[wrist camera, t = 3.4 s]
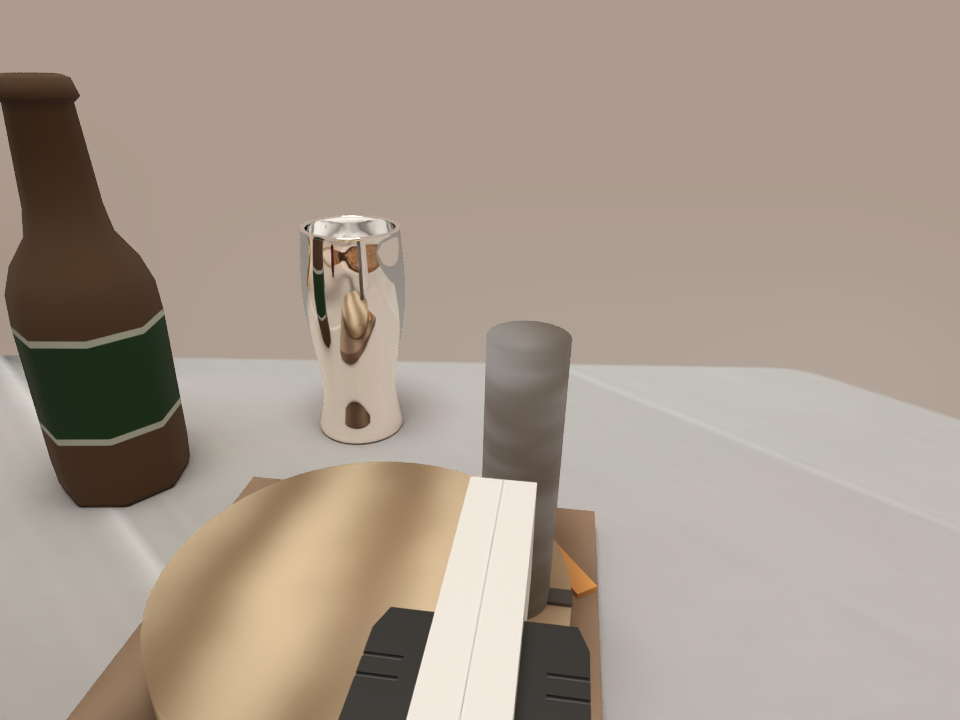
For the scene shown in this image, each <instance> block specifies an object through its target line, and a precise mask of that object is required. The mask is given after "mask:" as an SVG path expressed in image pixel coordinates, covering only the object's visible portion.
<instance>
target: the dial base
mask: <svg viewBox="0 0 960 720" xmlns="http://www.w3.org/2000/svg"><path fill="white" fill-rule="evenodd" d="M279 481H282V480H281V479H271V478H261V477H253V479H252V480H251V481H250V482H249V484H248V485H247V486H246V488H245V489H244V490H243V492H242V493H241V494H240V495H239V497H238V498H237V499H236V501H235V502H234V503H236V502H237V501H239V500H241V499H242V498H244V497H246V496H248V495H250V494H252V493H254V492H256V491H258V490H260V489H262V488H264V487H267V486H269V485H272V484H274V483H277V482H279ZM234 503H233V504H234ZM554 539H555V541H556V543H557V544H558V546H559V548H560V550H561V553H562V555H563V557H564V559H565V562H566V565H567V569H568V573H569V577H570V581H571V590H573V593H572V608H571V617H570V626H571V627H578V628H579V630H580V632H581V634H582V636H583V638H584V640H585V642H586V644H587V647H588V649H589V651H590V683H591V720H602V696H601V670H600V644H599V618H598V593H597V567H596V541H595V515H594V512H593V511H583V510H573V509H564V508H557V510H556V521H555V532H554ZM142 622H143V621H142ZM142 622H141V624H140V625H139V626H138V628H137V629H136V630H135V632H134V633H133V634H132V635H131V637H130V638H129V639H128V641H127V642H126V643H125V644H124V646H123V647H122V648H121V650H120V651H119V652H118V654H117V655H116V656H115V657H114V659H113V660H112V661H111V663H110V664H109V665H108V667H107V668H106V669H105V670H104V672H103V673H102V674H101V676H100V677H99V678H98V679H97V681H96V682H95V683H94V685H93V686H92V687H91V689H90V690H89V691H88V692H87V694H86V695H85V696H84V698H83V699H82V700H81V701H80V703H79V704H78V705H77V707H76V708H75V709H74V711H73V712H72V713H71V714H70V716H69V717H68V718H67V720H157V719H156V715H155V711H154V708H153V704H152V700H151V697H150V693H149V689H148V685H147V682H146V678H145V673H144V669H143V665H142V661H141V644H140V634H141V628H142Z"/></svg>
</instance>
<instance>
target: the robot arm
mask: <svg viewBox="0 0 960 720" xmlns="http://www.w3.org/2000/svg"><path fill="white" fill-rule="evenodd" d="M536 491H537V483H535V482H524V481H514V480H503V479H492V478H482V477H470V481H469V485H468V489H467V492H466V496H465V500H464V504H463V507H462V511H461V515H460V519H459V522H458V526H457V530H456V534H455V538H454V541H453V545H452V549H451V553H450V556H449V560H448V564H447V568H446V572H445V575H444V579H443V583H442V587H441V590H440V594H439V598H438V602H437V606H436V609H435V612H431V611H423V610H414V609H406V608H398V607H390V608H389V609H388V610H387V611H386V613H385V614H384V615H383V616H382V617H381V618H380V619H379V620H378V621H377V622H376V623H375V624H374V625H373V627H372V629H371V632H370V635H369V637H368V640H367V643H366V646H365V648H364V652H363V656H361V659H360V662H359V665H358V667H357V670H356V675H355V676H354V678H353V681H352V684H351V686H350V689H349V692H348V694H347V697H346V700H345V702H344V705H343V708H342V711H341V713H340V716H339V719H338V720H591V683H590V651H589V649H588V647H587V644H586V642H585V640H584V638H583V636H582V634H581V632H580V630H579V628H578V627H571V626H563V625H554V624H546V623H537V622H529V621H527V615H528V604H529V594H530V583H531V570H532V554H533V539H534V523H535V507H536Z"/></svg>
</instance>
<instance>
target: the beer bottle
mask: <svg viewBox="0 0 960 720" xmlns="http://www.w3.org/2000/svg"><path fill="white" fill-rule="evenodd" d="M79 96H80V95H79V93H78V91H77V89H76V87H75V85H74V83H73V82H72V80H71V78H70V77H67V76H65V75H62V74H57V73H0V102H1V105H2V110H3V115H4V120H5V125H6V130H7V136H8V141H9V146H10V151H11V156H12V161H13V166H14V171H15V176H16V182H17V186H18V192H19V197H20V202H21V207H22V224H23V239H22V240H21V243H20V245H19V247H18V249H17V251H16V253H15V255H14V257H13V259H12V261H11V263H10V265H9V268H8V275H7V282H6V289H5V299H6V305H7V310H8V314H9V319H10V325H11V329H12V332H13V336H14V339H15V342H16V345H17V349H18V352H19V356H20V359H21V362H22V366H23V369H24V372H25V376H26V379H27V382H28V386H29V389H30V393H31V396H32V399H33V403H34V406H35V409H36V413H37V416H38V419H39V423H40V426H41V429H42V433H43V436H44V439H45V443H46V446H47V450H48V453H49V456H50V460H51V462H52V465H53V467H54V470H55V473H56V475H57V478H58V480H59V483H60V484H61V485H62V486H63V488H64V489H65V490H66V491H67V492H68V493H69V495H70V496H71V497H72V498H73V499H74V501H75V502H76V503H77V504H78V505H80V506H128V505H131V504H133V503H135V502H138V501H140V500H142V499H145V498H147V497H149V496H152V495H154V494H156V493H159V492H161V491H163V490H166V489H168V488H170V487H172V486H173V485H174V483H175V481H176V480H177V478H178V477H179V475H180V474H181V472H182V470H183V469H184V467H185V466H186V464H187V463H188V460H189V457H190V454H189V445H188V437H187V430H186V425H185V420H184V415H183V409H182V404H181V399H180V394H179V388H178V383H177V378H176V373H175V367H174V362H173V357H172V352H171V347H170V341H169V336H168V331H167V325H166V320H165V315H164V310H163V306H162V302H161V299H160V295H159V292H158V288H157V285H156V281H155V279H154V277H153V276H152V274H151V273H150V271H149V269H148V268H147V266H146V265H145V263H144V262H143V260H142V258H141V257H140V255H139V254H138V253H137V252H136V251H135V250H134V249H133V248H132V247H131V246H130V245H129V244H128V243H127V242H126V241H125V240H124V239H123V238H121V236H120V235H118V233H117V232H116V231H114V228H113V226H112V224H111V221H110V219H109V217H108V214H107V212H106V210H105V207H104V205H103V202H102V199H101V195H100V192H99V188H98V185H97V182H96V178H95V174H94V171H93V167H92V164H91V160H90V157H89V153H88V150H87V146H86V143H85V139H84V136H83V132H82V129H81V125H80V122H79V119H78V115H77V111H76V108H75V104H74V102H75V101H76V100H77V99H78V98H79Z"/></svg>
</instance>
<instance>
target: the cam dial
mask: <svg viewBox="0 0 960 720" xmlns="http://www.w3.org/2000/svg"><path fill="white" fill-rule="evenodd" d="M486 343H487V344H486V374H485V406H484V438H483V470H482V478H492V479H503V480H514V481H524V482H535V483H537V491H536V507H535V523H534V539H533V554H532V570H531V583H530V594H529V604H528V615H527V621H529V622H537V623H546V624H554V625H563V626H570V617H571V608H572V593H573V590H571V581H570V577H569V573H568V569H567V565H566V562H565V559H564V557H563V555H562V553H561V550H560V548H559V546H558V544H557V543H556V541H555V539H554V532H555V521H556V510H557V499H558V488H559V477H560V466H561V455H562V444H563V433H564V422H565V411H566V400H567V389H568V378H569V367H570V356H571V343H572V337H571V335H570V334H569V333H568V332H567V331H566V330H564V329H562V328H560V327H558V326H555V325H551V324H548V323H543V322H537V321H511V322H506V323H502V324H498V325H496V326H494V327H492V328H491V329H490V330H489V331H488V332H487V342H486ZM470 477H473V476H470V475H467V474H463V473H460V472H457V471H454V470H450V469H445V468H441V467H436V466H431V465H423V464H416V463H404V462H366V463H355V464H346V465H340V466H334V467H328V468H323V469H319V470H315V471H311V472H307V473H303V474H300V475H297V476H294V477H290V478H287V479H284V480H282V481H279V482H277V483H274V484H272V485H269V486H267V487H264V488H262V489H260V490H258V491H256V492H254V493H252V494H250V495H248V496H246V497H244V498H242V499H241V500H239V501H237V502H236V503H234V504H232V505H231V506H229V507H227V508H226V509H224V510H223V511H222V512H220V513H219V514H217V515H216V516H215V517H213V518H212V519H211V520H209V521H208V522H207V523H205V524H204V525H203V526H202V527H201V528H200V529H199V530H197V531H196V532H195V533H194V534H193V535H192V536H191V537H190V538H189V539H188V540H187V541H186V542H185V543H184V544H183V545H182V546H181V548H180V549H179V550H178V551H177V552H176V553H175V554H174V556H173V557H172V558H171V560H170V561H169V563H168V564H167V565H166V567H165V568H164V570H163V571H162V572H161V574H160V576H159V578H158V580H157V582H156V584H155V586H154V588H153V590H152V591H151V594H150V597H149V600H148V603H147V606H146V608H145V611H144V615H143V622H142V628H141V634H140V644H141V661H142V665H143V669H144V673H145V678H146V682H147V685H148V689H149V693H150V697H151V700H152V704H153V708H154V711H155V715H156V719H157V720H338V719H339V716H340V713H341V711H342V708H343V705H344V702H345V700H346V697H347V694H348V692H349V689H350V686H351V684H352V681H353V678H354V676H355V675H356V670H357V667H358V665H359V662H360V659H361V656H363V652H364V648H365V646H366V643H367V640H368V637H369V635H370V632H371V629H372V627H373V625H374V624H375V623H376V622H377V621H378V620H379V619H380V618H381V617H382V616H383V615H384V614H385V613H386V611H387V610H388V609H389V608H390V607H398V608H406V609H414V610H423V611H431V612H435V609H436V606H437V602H438V598H439V594H440V590H441V587H442V583H443V579H444V575H445V572H446V568H447V564H448V560H449V556H450V553H451V549H452V545H453V541H454V538H455V534H456V530H457V526H458V522H459V519H460V515H461V511H462V507H463V504H464V500H465V496H466V492H467V489H468V485H469V481H470Z"/></svg>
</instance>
